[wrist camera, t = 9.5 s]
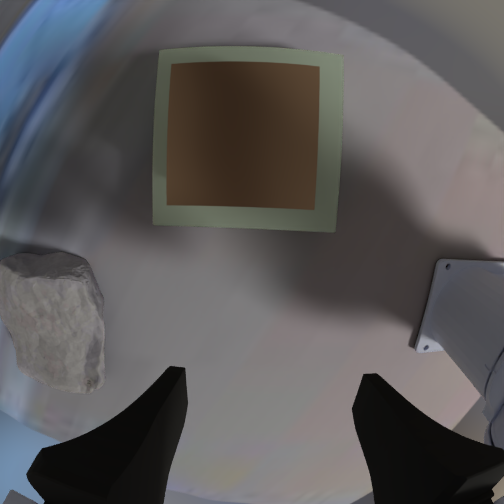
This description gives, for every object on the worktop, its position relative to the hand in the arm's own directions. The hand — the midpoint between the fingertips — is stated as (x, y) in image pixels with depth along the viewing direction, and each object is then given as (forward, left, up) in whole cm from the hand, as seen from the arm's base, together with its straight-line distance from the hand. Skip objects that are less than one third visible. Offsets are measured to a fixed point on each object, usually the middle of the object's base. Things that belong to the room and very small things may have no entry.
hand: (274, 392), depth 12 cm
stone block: (+16, +4, -10) cm, 20 cm away
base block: (+2, -10, -10) cm, 14 cm away
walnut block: (+2, -10, -7) cm, 12 cm away
